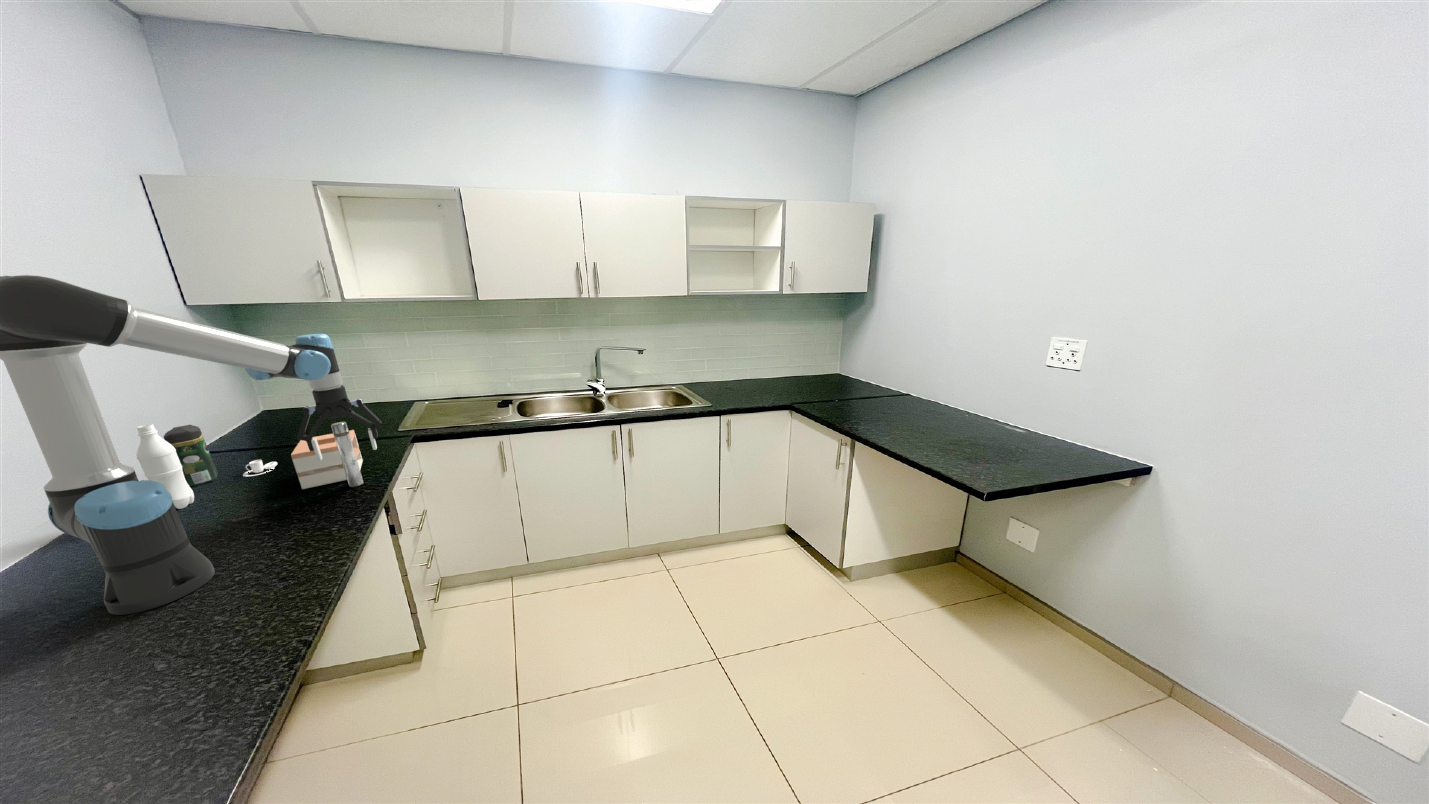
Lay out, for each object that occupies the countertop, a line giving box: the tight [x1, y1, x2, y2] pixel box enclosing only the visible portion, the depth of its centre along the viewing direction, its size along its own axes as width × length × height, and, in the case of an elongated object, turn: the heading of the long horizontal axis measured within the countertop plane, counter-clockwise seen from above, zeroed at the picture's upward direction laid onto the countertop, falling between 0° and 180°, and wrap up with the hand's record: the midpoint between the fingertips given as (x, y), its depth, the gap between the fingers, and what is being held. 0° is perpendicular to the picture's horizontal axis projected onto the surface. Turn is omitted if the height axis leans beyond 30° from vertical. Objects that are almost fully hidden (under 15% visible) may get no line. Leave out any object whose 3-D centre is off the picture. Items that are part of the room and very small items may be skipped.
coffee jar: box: [163, 424, 219, 487], centre depth 149 cm, size 10×8×19 cm
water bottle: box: [136, 423, 195, 510], centre depth 131 cm, size 7×7×25 cm
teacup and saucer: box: [242, 459, 278, 477], centre depth 157 cm, size 9×8×4 cm
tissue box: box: [290, 429, 364, 490], centre depth 151 cm, size 16×14×12 cm
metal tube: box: [330, 421, 364, 488], centre depth 142 cm, size 4×4×20 cm
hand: (348, 454), depth 142 cm, fingers open, 13 cm apart
